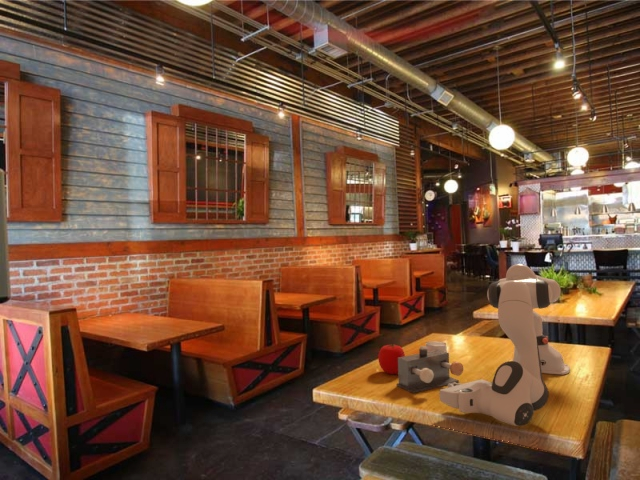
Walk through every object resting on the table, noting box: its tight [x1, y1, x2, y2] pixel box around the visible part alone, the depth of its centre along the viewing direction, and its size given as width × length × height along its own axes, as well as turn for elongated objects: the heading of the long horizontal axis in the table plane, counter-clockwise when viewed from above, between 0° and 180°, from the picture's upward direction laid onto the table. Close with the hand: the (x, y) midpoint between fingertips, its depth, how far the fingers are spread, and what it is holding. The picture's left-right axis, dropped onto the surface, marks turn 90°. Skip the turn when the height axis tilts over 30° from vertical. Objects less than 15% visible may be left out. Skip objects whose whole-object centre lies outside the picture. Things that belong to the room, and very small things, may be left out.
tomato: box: [377, 343, 406, 375], centre depth 188 cm, size 12×12×13 cm
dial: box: [418, 345, 428, 356], centre depth 174 cm, size 3×3×4 cm
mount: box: [396, 350, 460, 394], centre depth 173 cm, size 10×23×11 cm, turn 117°
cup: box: [425, 340, 448, 353], centre depth 188 cm, size 9×9×12 cm
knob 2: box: [441, 361, 464, 377], centre depth 172 cm, size 9×5×5 cm, turn 27°
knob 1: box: [411, 367, 434, 383], centre depth 165 cm, size 9×5×5 cm, turn 27°
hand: (450, 385), depth 151 cm, fingers closed
